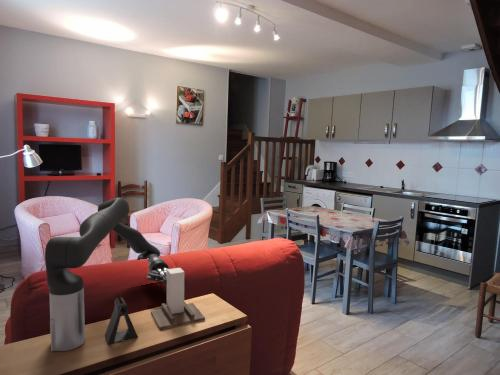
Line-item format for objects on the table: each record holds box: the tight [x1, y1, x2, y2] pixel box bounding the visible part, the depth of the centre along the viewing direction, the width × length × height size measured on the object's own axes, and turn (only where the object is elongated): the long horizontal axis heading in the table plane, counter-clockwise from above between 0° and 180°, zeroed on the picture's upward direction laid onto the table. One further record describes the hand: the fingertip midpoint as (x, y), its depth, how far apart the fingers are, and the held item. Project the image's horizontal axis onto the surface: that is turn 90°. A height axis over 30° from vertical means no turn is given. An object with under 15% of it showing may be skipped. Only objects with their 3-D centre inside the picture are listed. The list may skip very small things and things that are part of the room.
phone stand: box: [104, 296, 138, 346], centre depth 113 cm, size 9×6×12 cm, turn 120°
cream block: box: [166, 267, 185, 314], centre depth 129 cm, size 5×5×15 cm
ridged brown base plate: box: [150, 301, 206, 331], centre depth 127 cm, size 16×13×3 cm
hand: (168, 281), depth 137 cm, fingers closed
